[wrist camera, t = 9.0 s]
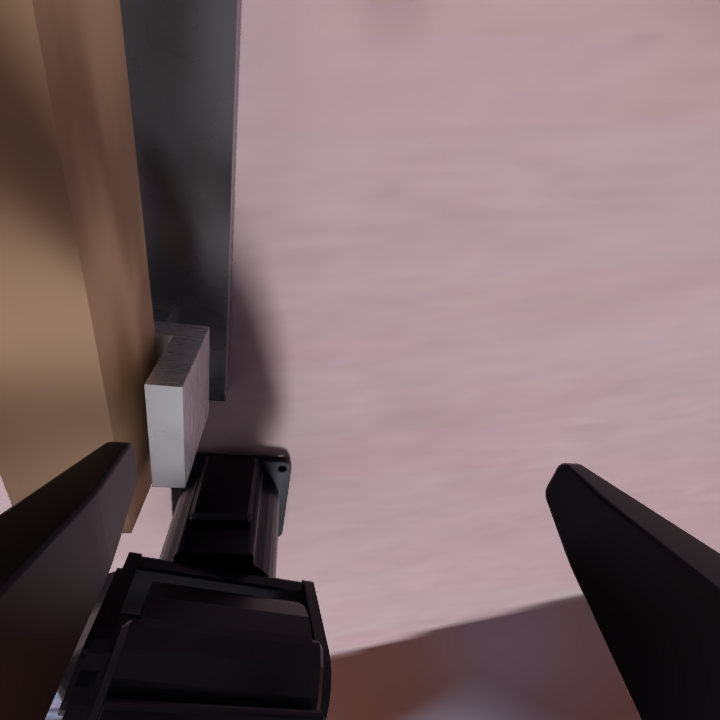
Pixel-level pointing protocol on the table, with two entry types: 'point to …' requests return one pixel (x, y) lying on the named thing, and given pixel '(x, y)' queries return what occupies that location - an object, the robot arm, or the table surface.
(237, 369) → the table surface
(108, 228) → the rail
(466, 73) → the table surface
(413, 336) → the table surface
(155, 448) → the bracket stand
